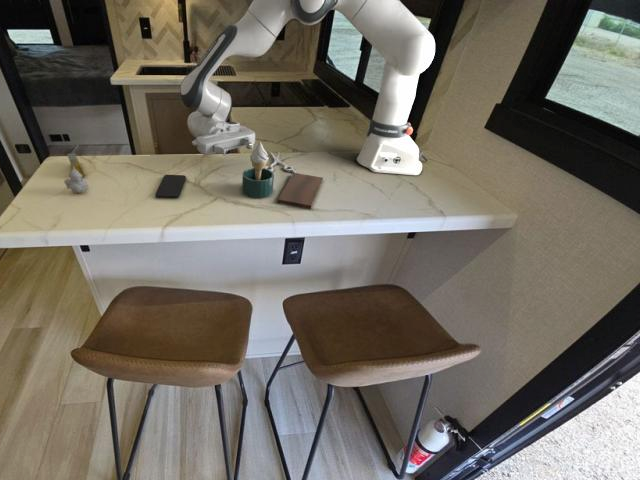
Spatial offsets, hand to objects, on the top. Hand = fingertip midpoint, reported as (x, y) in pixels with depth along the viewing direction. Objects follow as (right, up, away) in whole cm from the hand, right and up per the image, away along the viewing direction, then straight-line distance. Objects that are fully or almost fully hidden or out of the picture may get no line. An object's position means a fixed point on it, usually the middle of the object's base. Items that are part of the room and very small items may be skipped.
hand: (239, 149), depth 106 cm
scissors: (+14, +2, +16) cm, 21 cm away
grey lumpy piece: (-49, -14, -2) cm, 51 cm away
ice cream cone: (+6, -13, 0) cm, 14 cm away
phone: (-21, -12, +1) cm, 25 cm away
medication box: (-55, -4, +8) cm, 55 cm away
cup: (+6, -13, 0) cm, 14 cm away
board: (+20, -13, 0) cm, 24 cm away
